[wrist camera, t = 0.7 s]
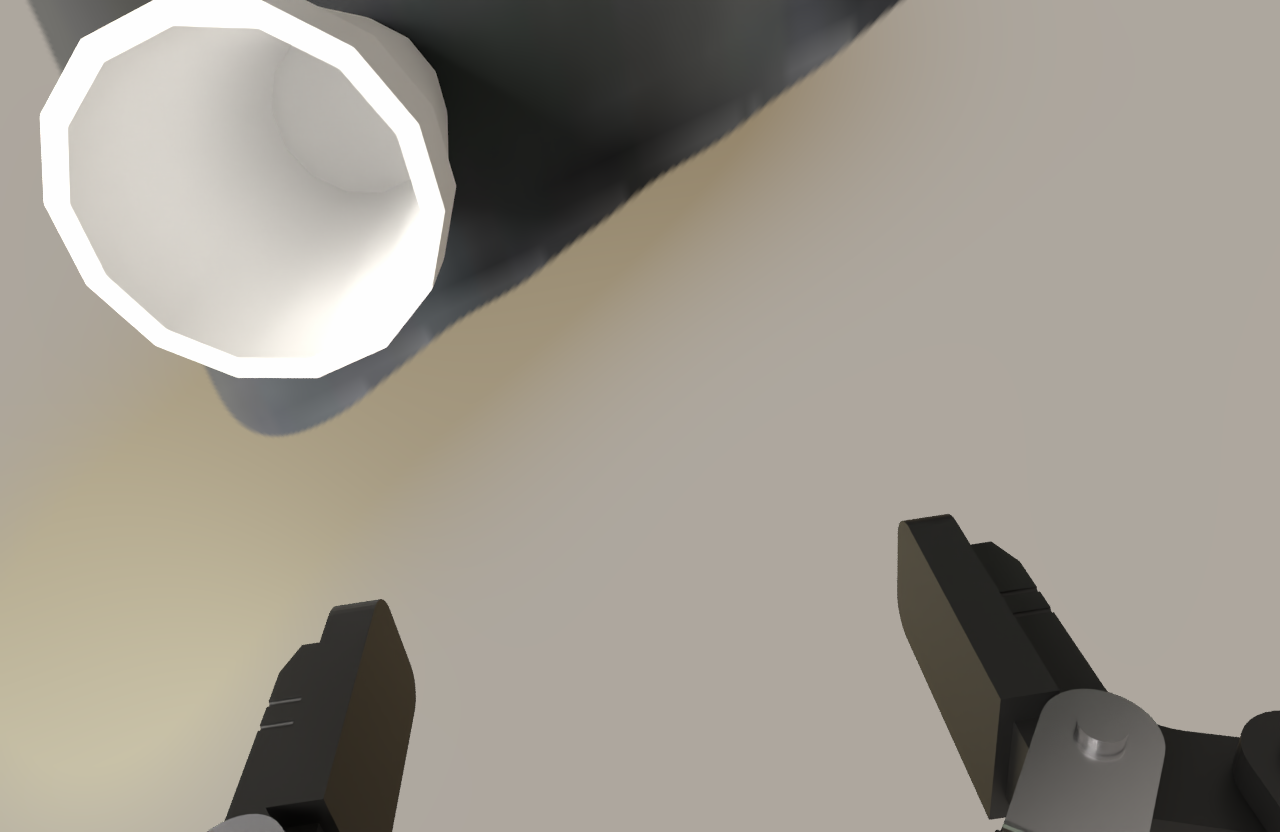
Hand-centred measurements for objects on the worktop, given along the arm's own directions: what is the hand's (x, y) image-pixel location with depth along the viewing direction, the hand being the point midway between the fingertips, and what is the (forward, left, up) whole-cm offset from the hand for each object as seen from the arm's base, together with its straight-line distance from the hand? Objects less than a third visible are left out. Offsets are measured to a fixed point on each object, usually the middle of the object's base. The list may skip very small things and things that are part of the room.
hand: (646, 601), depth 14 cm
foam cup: (-5, -8, -25) cm, 26 cm away
